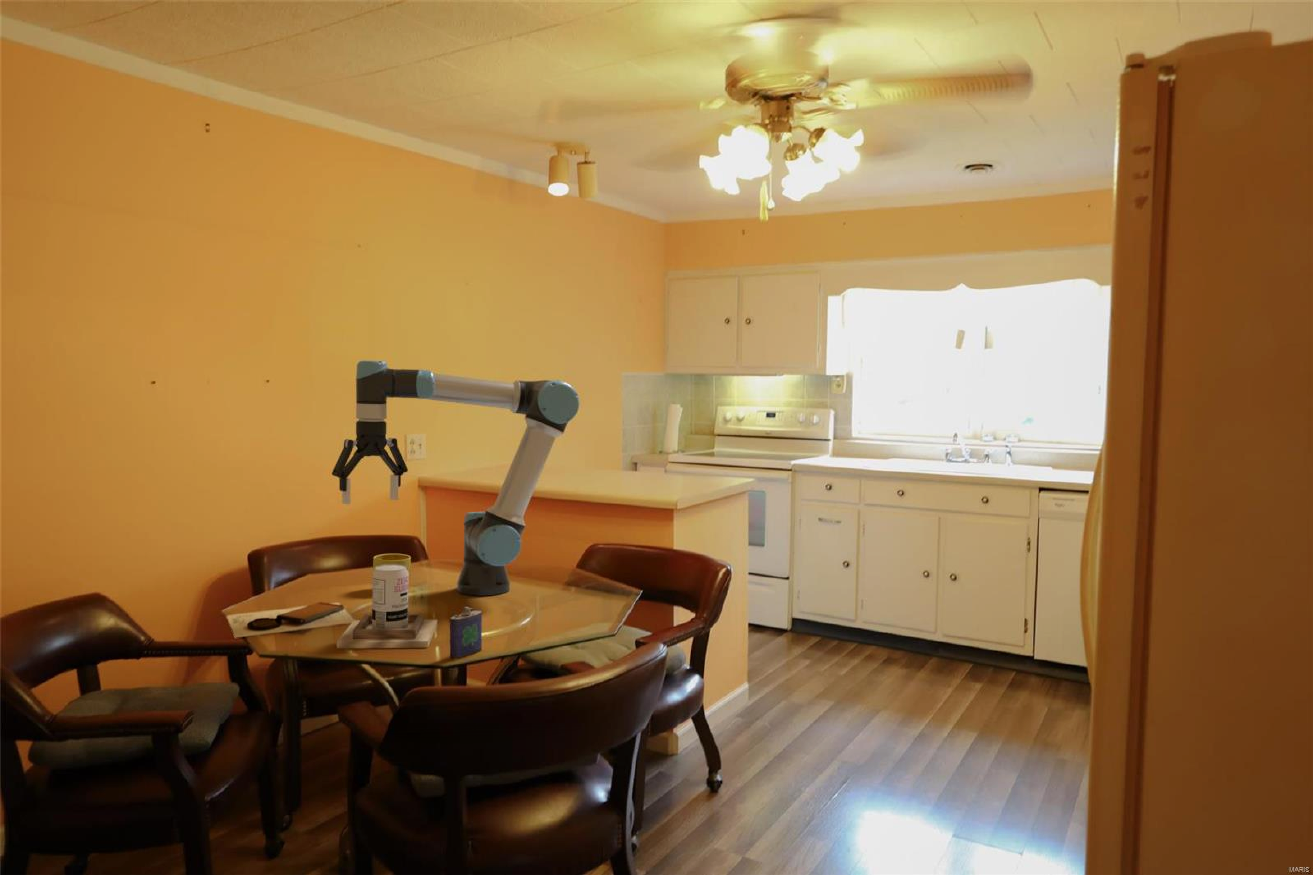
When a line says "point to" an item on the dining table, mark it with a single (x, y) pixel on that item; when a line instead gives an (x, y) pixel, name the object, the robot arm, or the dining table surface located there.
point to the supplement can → (390, 597)
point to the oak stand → (388, 634)
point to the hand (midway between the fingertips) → (370, 501)
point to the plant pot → (392, 560)
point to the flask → (465, 634)
